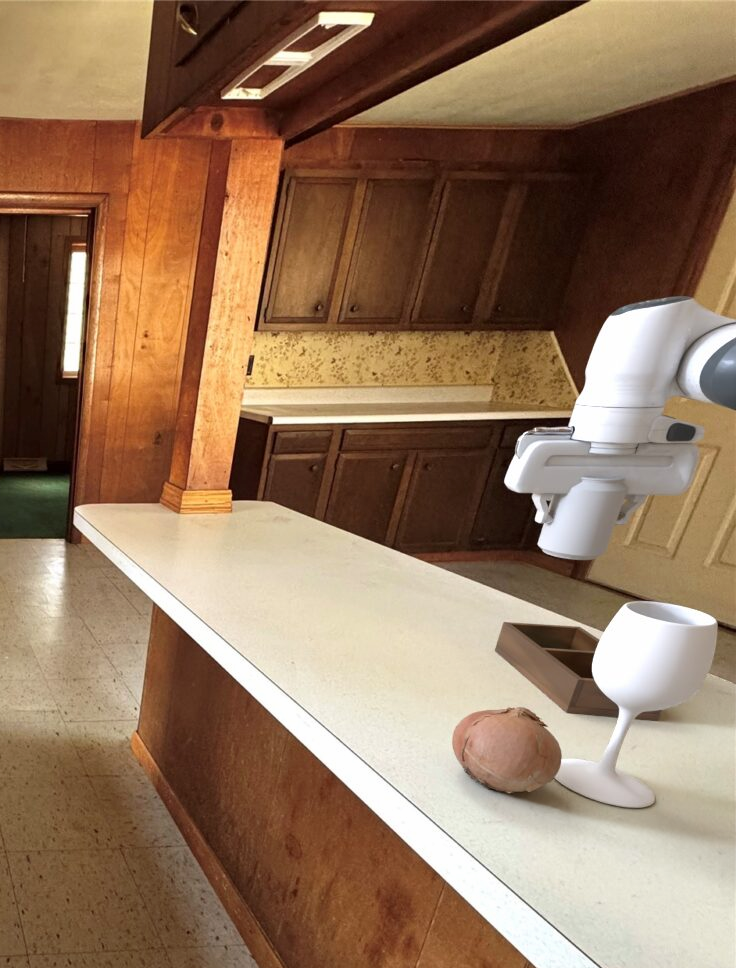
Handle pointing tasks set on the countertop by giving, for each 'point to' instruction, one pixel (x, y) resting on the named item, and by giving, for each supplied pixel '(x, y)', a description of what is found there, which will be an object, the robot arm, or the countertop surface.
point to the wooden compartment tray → (559, 666)
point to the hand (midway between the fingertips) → (579, 523)
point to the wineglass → (642, 686)
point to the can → (583, 519)
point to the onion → (507, 749)
